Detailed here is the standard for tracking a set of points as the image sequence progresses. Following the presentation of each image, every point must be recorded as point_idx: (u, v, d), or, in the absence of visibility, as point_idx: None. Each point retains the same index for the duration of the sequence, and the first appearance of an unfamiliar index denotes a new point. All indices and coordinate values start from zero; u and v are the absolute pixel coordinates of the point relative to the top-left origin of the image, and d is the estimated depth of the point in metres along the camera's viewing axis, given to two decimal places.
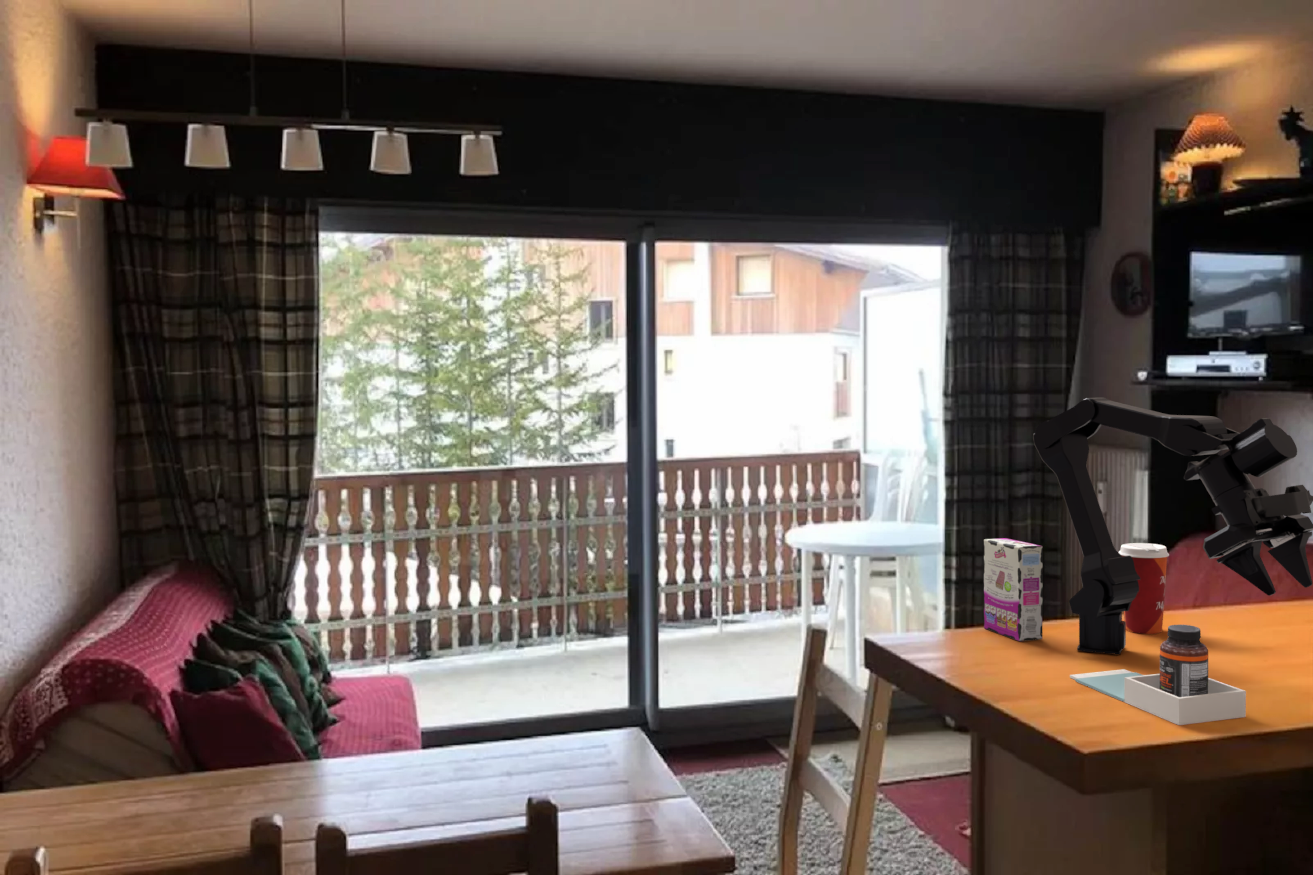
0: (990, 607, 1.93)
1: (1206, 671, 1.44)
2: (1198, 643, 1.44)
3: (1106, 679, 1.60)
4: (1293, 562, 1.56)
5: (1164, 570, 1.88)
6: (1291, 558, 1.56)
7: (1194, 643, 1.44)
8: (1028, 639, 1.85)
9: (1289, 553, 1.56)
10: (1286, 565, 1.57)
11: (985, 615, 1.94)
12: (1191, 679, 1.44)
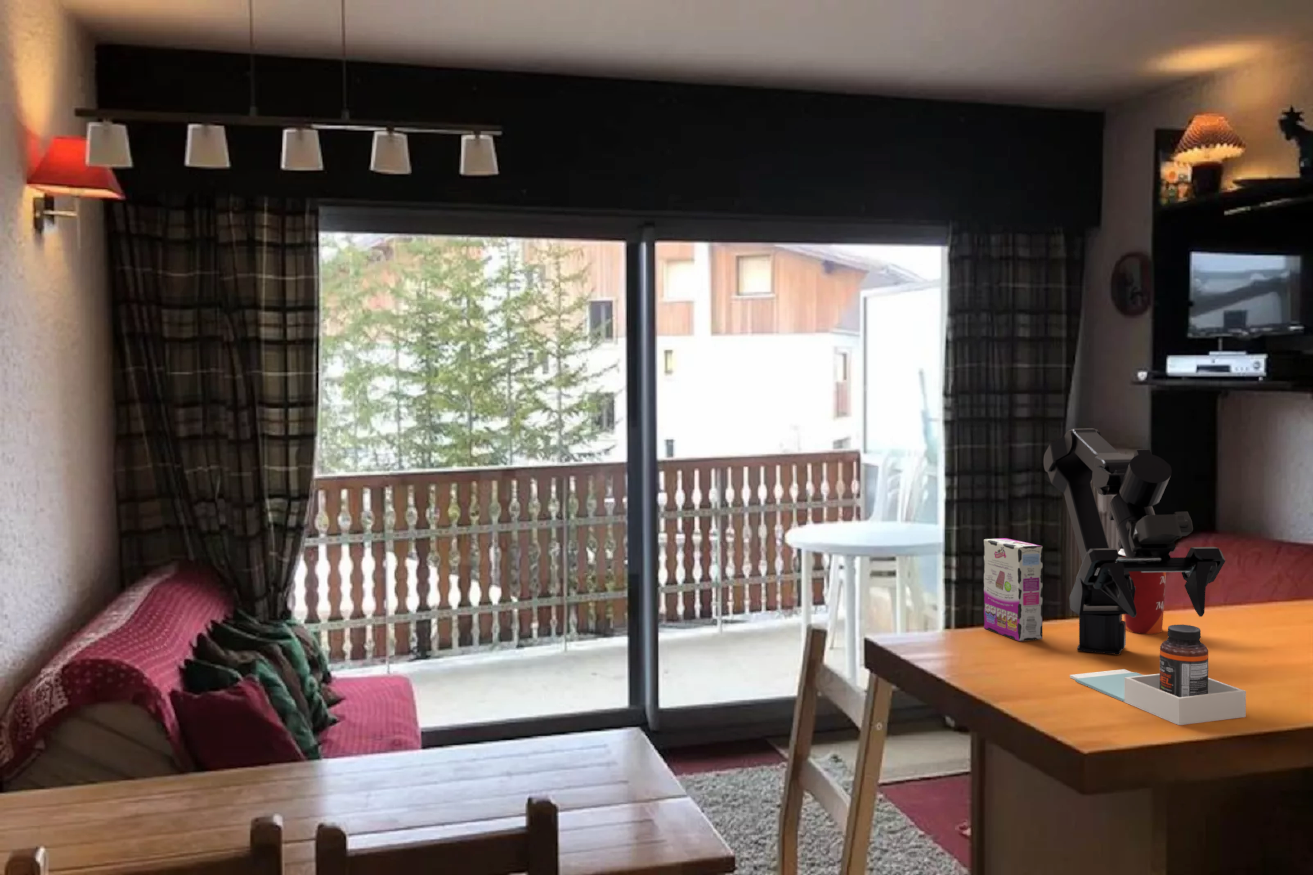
0: (990, 607, 1.93)
1: (1206, 671, 1.44)
2: (1198, 643, 1.44)
3: (1106, 679, 1.60)
4: (1193, 592, 1.54)
5: None
6: (1193, 589, 1.54)
7: (1194, 643, 1.44)
8: (1028, 639, 1.85)
9: (1192, 584, 1.54)
10: (1192, 597, 1.54)
11: (985, 615, 1.94)
12: (1191, 679, 1.44)
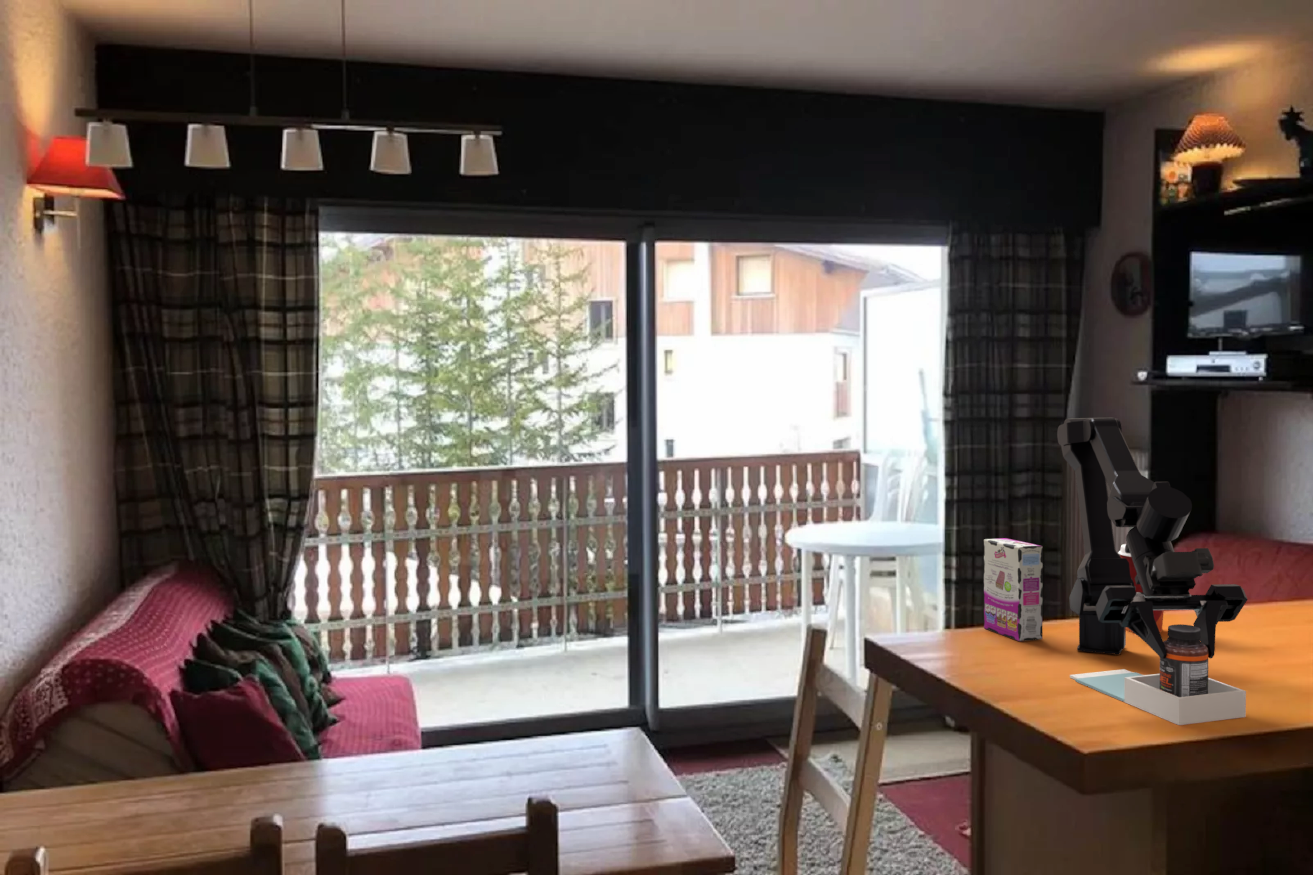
0: (990, 607, 1.93)
1: (1206, 671, 1.44)
2: (1198, 643, 1.44)
3: (1106, 679, 1.60)
4: (1203, 632, 1.47)
5: None
6: (1202, 628, 1.48)
7: (1194, 643, 1.44)
8: (1028, 639, 1.85)
9: (1201, 623, 1.48)
10: (1201, 637, 1.48)
11: (985, 615, 1.94)
12: (1191, 679, 1.44)
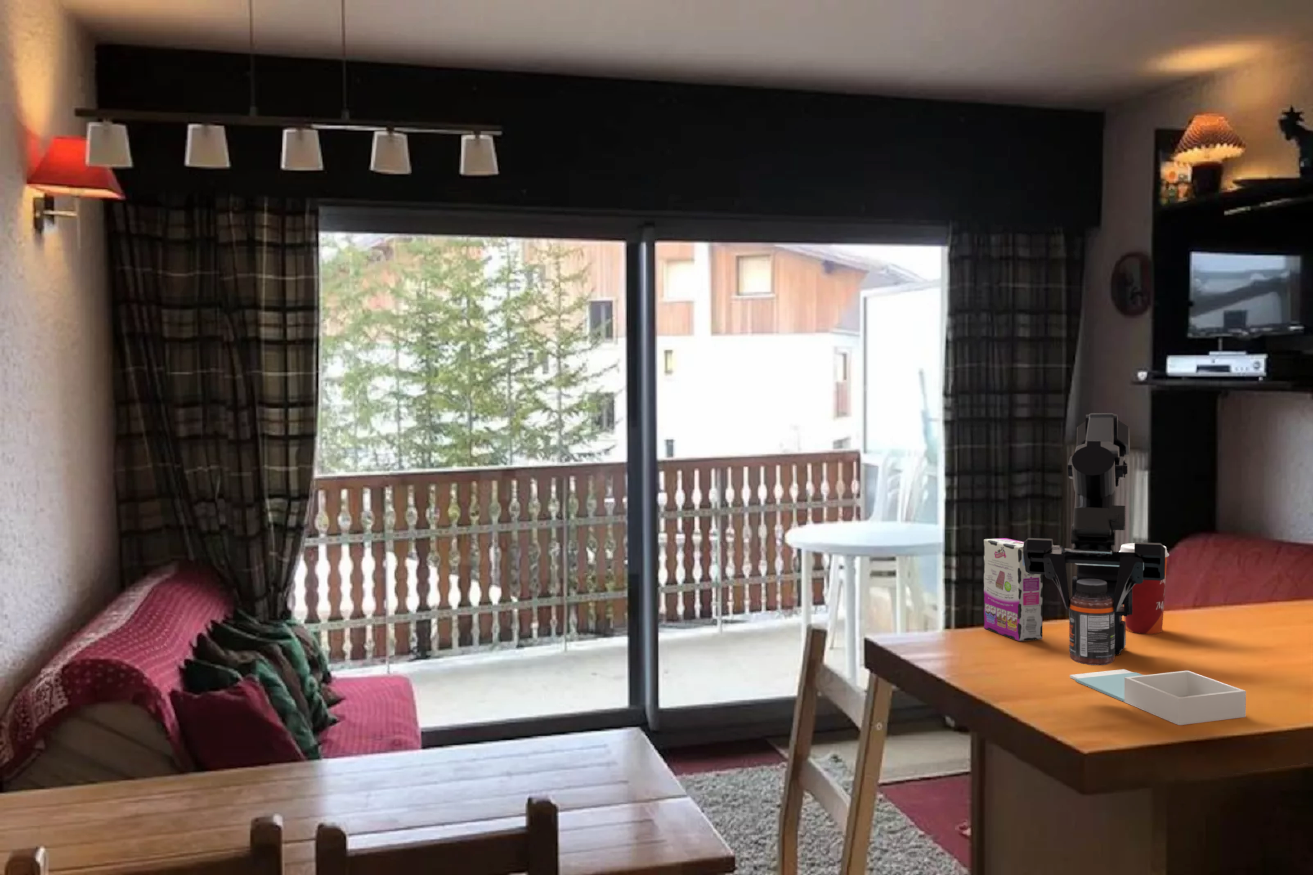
0: (990, 607, 1.93)
1: (1107, 624, 1.49)
2: (1100, 596, 1.49)
3: (1106, 679, 1.60)
4: None
5: None
6: None
7: (1095, 596, 1.49)
8: (1028, 639, 1.85)
9: None
10: None
11: (985, 615, 1.94)
12: (1089, 630, 1.49)
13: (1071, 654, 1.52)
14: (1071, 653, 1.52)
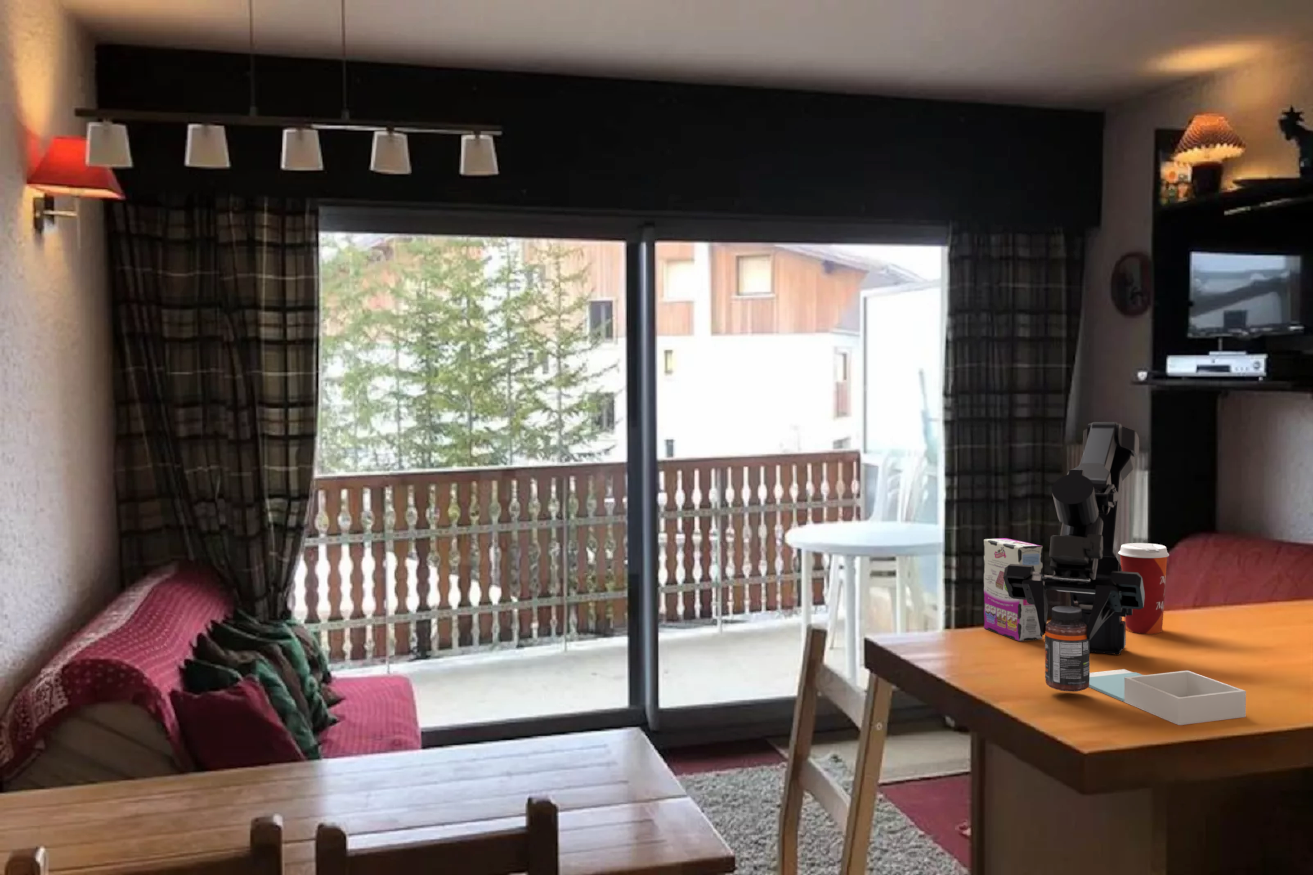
0: (990, 607, 1.93)
1: (1079, 651, 1.51)
2: (1073, 623, 1.52)
3: (1106, 679, 1.60)
4: None
5: (1164, 570, 1.88)
6: None
7: (1068, 623, 1.52)
8: (1028, 639, 1.85)
9: None
10: None
11: (985, 615, 1.94)
12: (1061, 656, 1.51)
13: (1046, 679, 1.54)
14: (1046, 678, 1.54)
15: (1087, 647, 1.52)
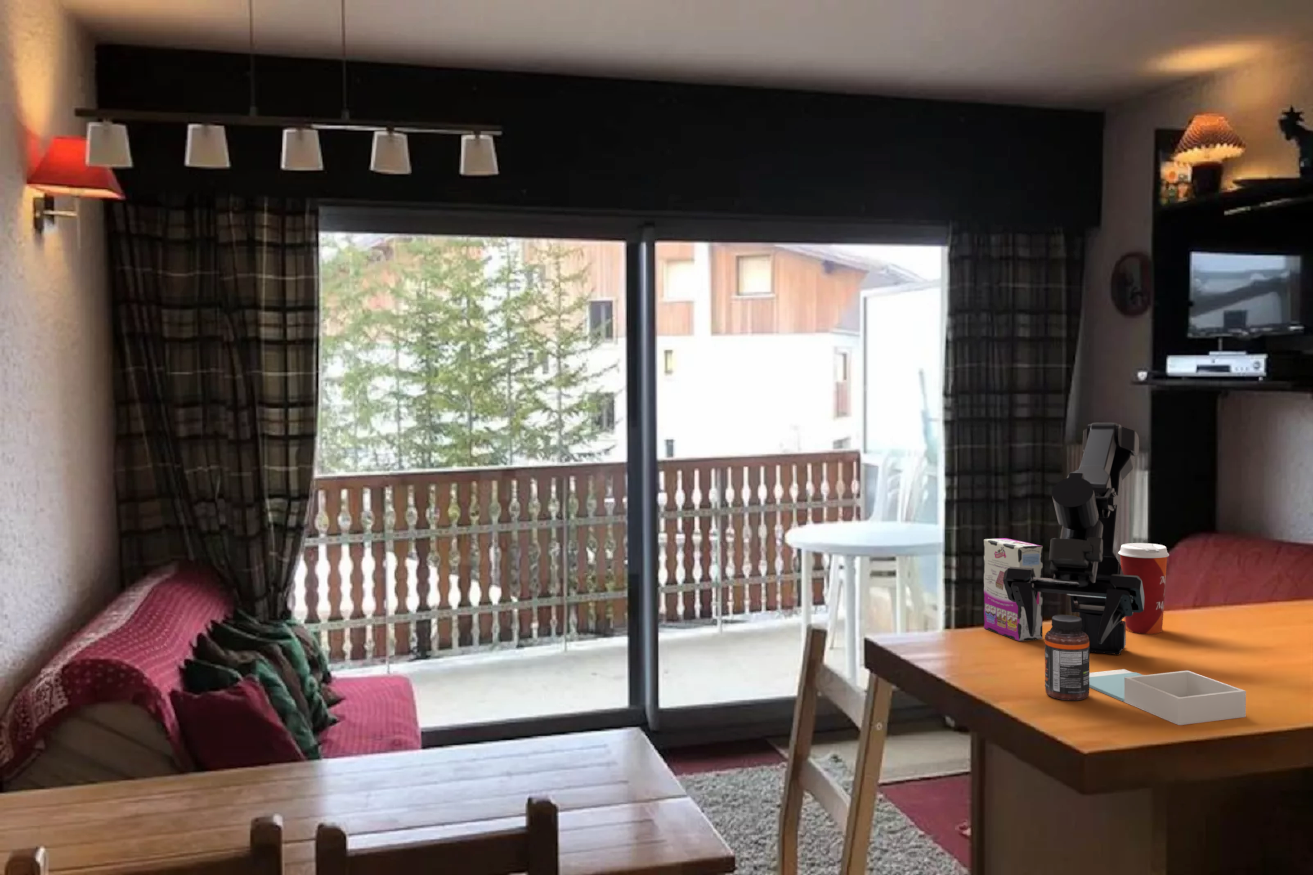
0: (990, 607, 1.93)
1: (1079, 660, 1.51)
2: (1073, 632, 1.52)
3: (1106, 679, 1.60)
4: None
5: (1164, 570, 1.88)
6: None
7: (1068, 632, 1.52)
8: (1028, 639, 1.85)
9: None
10: None
11: (985, 615, 1.94)
12: (1061, 665, 1.51)
13: (1046, 688, 1.54)
14: (1046, 687, 1.54)
15: (1087, 656, 1.52)
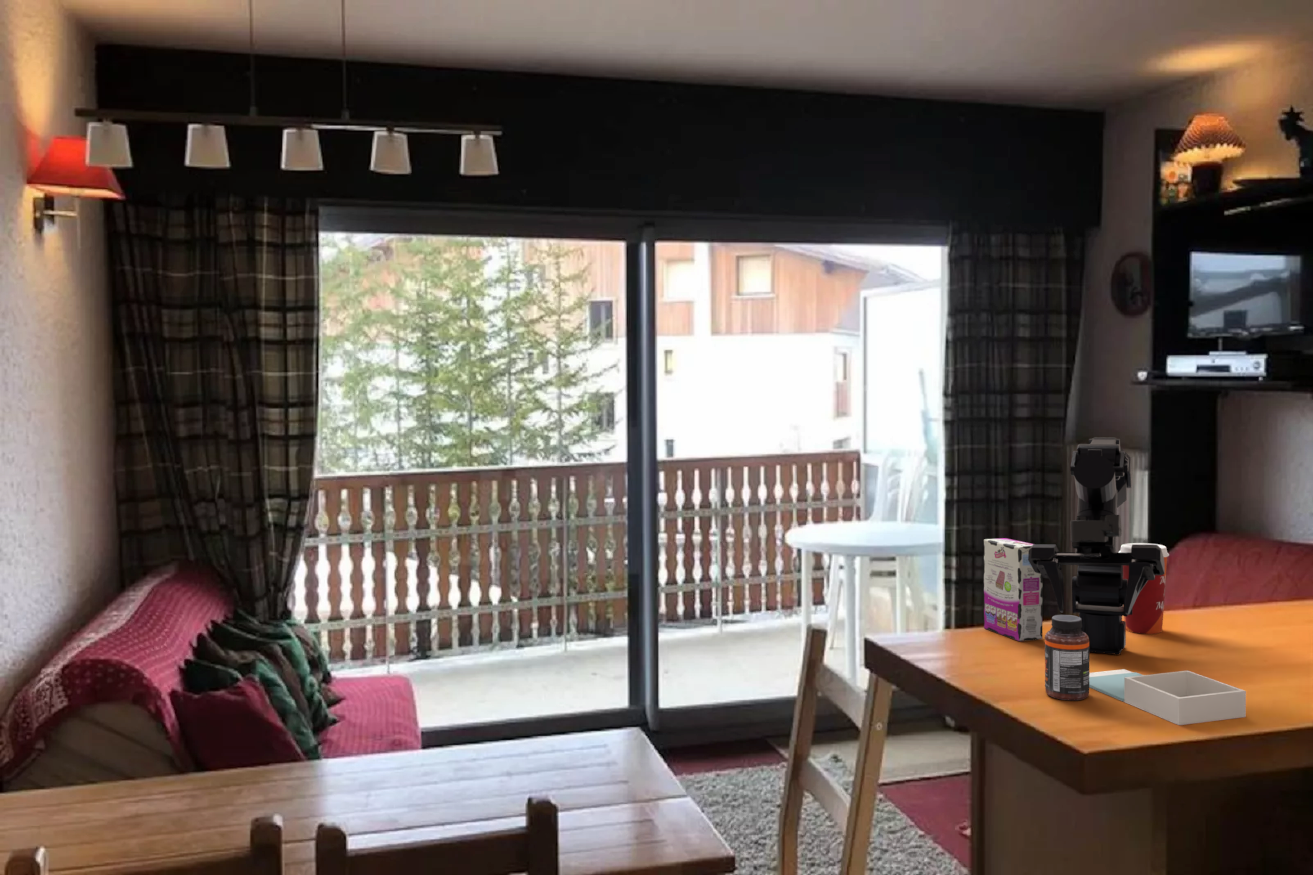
0: (990, 607, 1.93)
1: (1079, 660, 1.51)
2: (1073, 632, 1.52)
3: (1106, 679, 1.60)
4: None
5: None
6: None
7: (1068, 632, 1.52)
8: (1028, 639, 1.85)
9: None
10: None
11: (985, 615, 1.94)
12: (1061, 665, 1.51)
13: (1046, 688, 1.54)
14: (1046, 687, 1.54)
15: (1087, 656, 1.52)
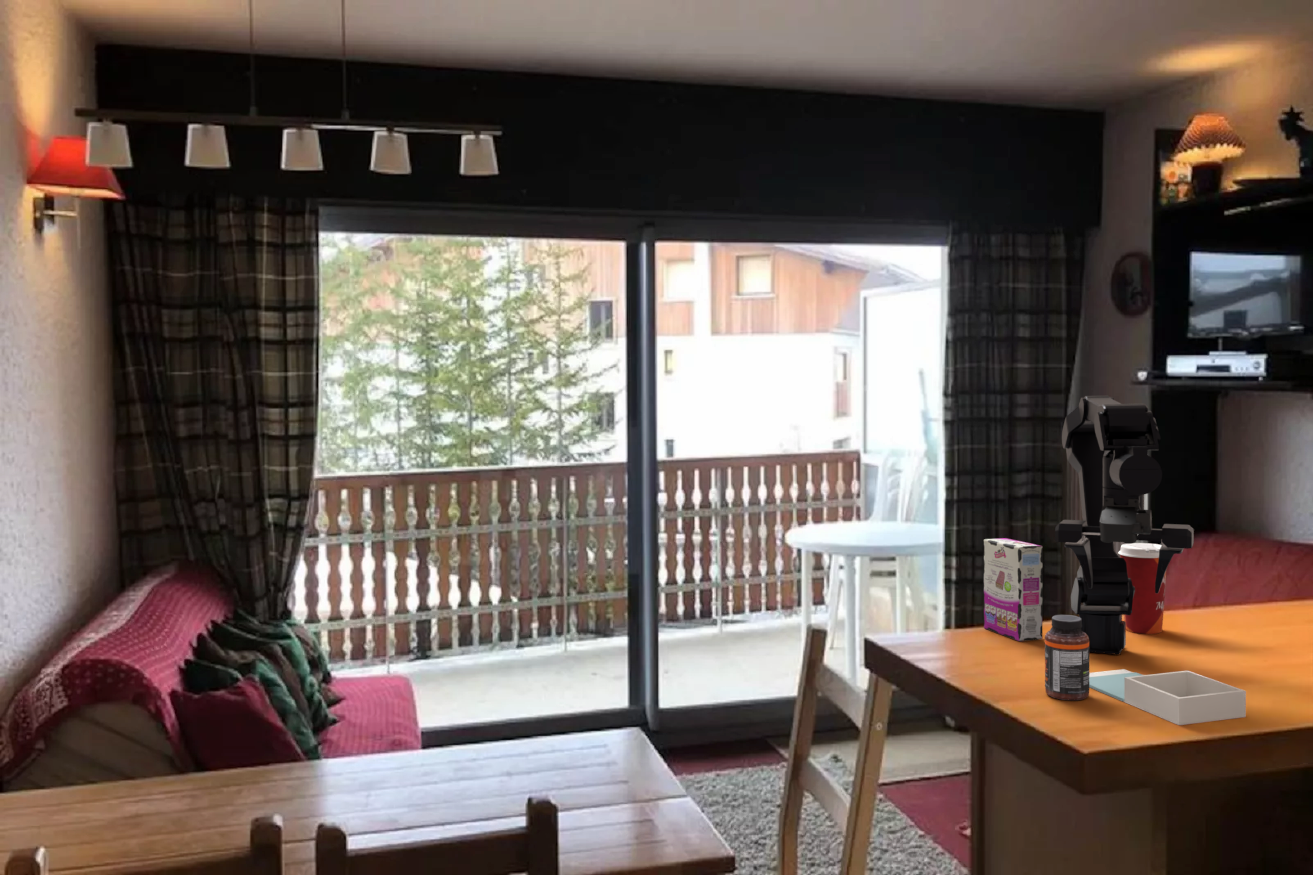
0: (990, 607, 1.93)
1: (1079, 660, 1.51)
2: (1073, 632, 1.52)
3: (1106, 679, 1.60)
4: None
5: None
6: None
7: (1068, 632, 1.52)
8: (1028, 639, 1.85)
9: None
10: None
11: (985, 615, 1.94)
12: (1061, 665, 1.51)
13: (1046, 688, 1.54)
14: (1046, 687, 1.54)
15: (1087, 656, 1.52)
